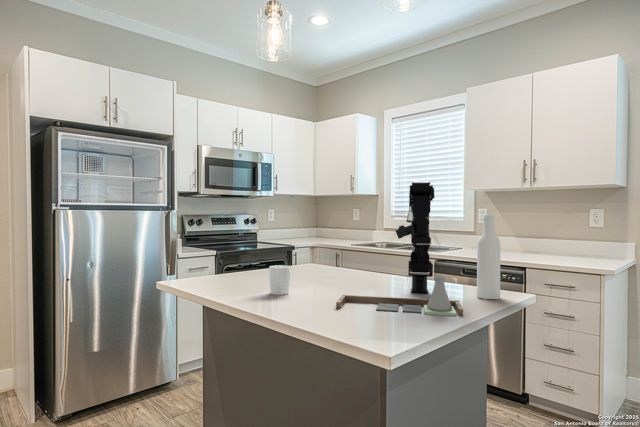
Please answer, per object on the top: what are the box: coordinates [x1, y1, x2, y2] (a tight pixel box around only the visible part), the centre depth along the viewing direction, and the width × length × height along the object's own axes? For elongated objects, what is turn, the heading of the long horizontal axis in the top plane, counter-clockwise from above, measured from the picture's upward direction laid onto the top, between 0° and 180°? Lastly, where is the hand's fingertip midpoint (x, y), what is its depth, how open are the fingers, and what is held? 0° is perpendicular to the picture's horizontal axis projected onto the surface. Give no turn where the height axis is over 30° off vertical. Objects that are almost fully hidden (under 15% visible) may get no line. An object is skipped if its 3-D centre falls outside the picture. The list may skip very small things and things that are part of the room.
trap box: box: [335, 294, 464, 317], centre depth 132 cm, size 12×38×2 cm, turn 77°
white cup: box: [268, 264, 291, 296], centre depth 154 cm, size 8×8×10 cm
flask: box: [427, 275, 452, 311], centre depth 127 cm, size 7×7×10 cm
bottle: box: [476, 213, 501, 300], centre depth 148 cm, size 8×8×30 cm
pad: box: [423, 305, 457, 317], centre depth 127 cm, size 9×9×1 cm
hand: (420, 262), depth 143 cm, fingers open, 9 cm apart
